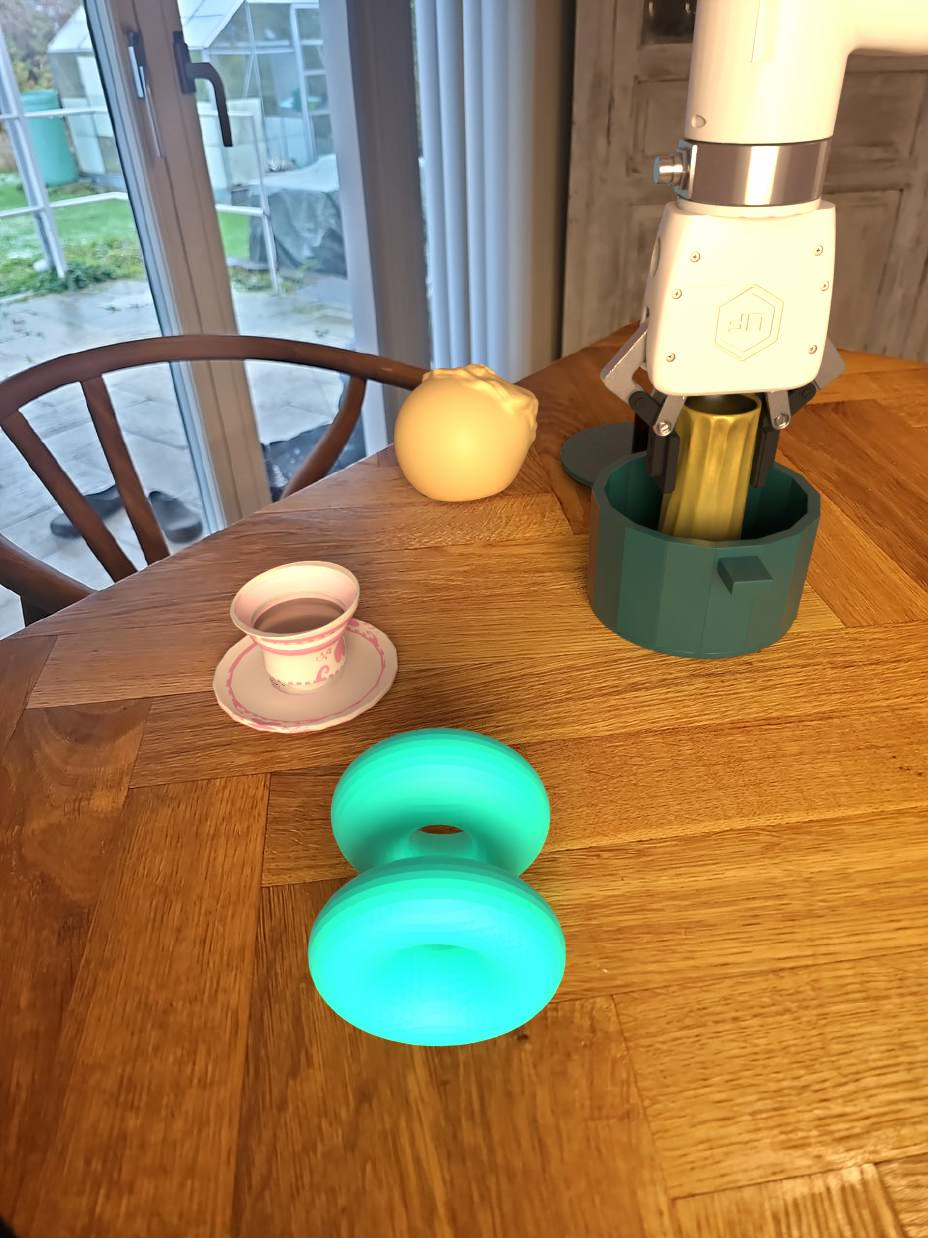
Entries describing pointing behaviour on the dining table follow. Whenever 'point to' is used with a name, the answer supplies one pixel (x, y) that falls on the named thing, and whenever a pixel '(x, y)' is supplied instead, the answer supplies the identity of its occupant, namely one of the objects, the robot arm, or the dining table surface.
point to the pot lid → (602, 448)
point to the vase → (712, 467)
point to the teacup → (302, 652)
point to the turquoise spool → (438, 893)
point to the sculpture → (464, 433)
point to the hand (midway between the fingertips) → (706, 479)
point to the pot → (698, 566)
